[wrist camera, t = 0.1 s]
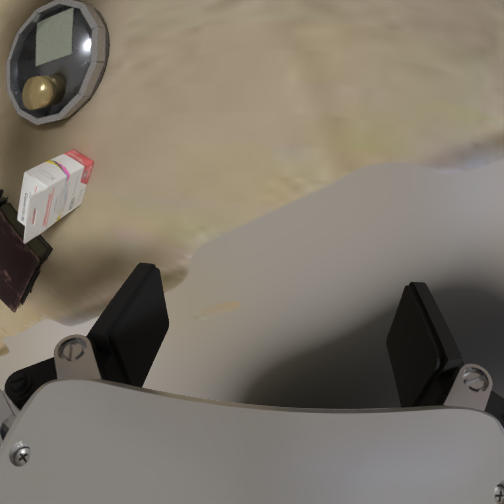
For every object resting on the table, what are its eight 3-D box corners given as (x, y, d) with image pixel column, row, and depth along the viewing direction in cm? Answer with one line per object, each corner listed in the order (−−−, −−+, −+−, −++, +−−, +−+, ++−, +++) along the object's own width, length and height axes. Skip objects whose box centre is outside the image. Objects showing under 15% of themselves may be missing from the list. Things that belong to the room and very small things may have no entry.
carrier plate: (20, 24, 30) (-4, 24, 25) (112, -14, 28) (89, -23, 23) (22, 128, 40) (-3, 136, 34) (111, 110, 38) (86, 115, 32)
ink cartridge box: (73, 147, 41) (8, 177, 28) (95, 161, 42) (32, 194, 29) (60, 191, 45) (2, 230, 32) (81, 205, 46) (25, 248, 33)
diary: (-17, 252, 57) (-30, 262, 52) (3, 186, 47) (-13, 195, 42) (26, 304, 62) (15, 316, 58) (57, 250, 52) (42, 263, 48)
